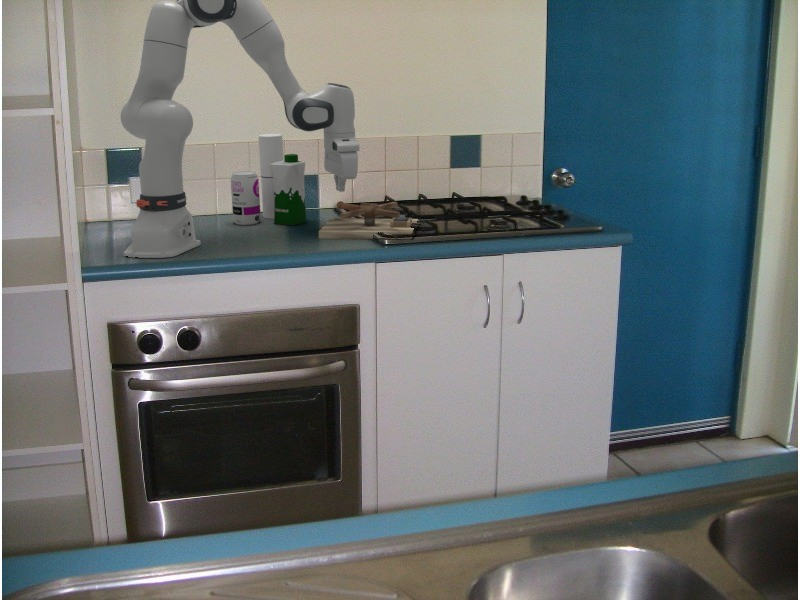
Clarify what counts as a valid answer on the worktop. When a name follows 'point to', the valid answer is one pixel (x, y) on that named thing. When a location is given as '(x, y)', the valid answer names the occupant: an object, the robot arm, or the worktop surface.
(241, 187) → the supplement can
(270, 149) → the cylindrical container
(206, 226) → the worktop surface
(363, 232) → the stand
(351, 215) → the capstan
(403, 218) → the ball
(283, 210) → the milk carton
